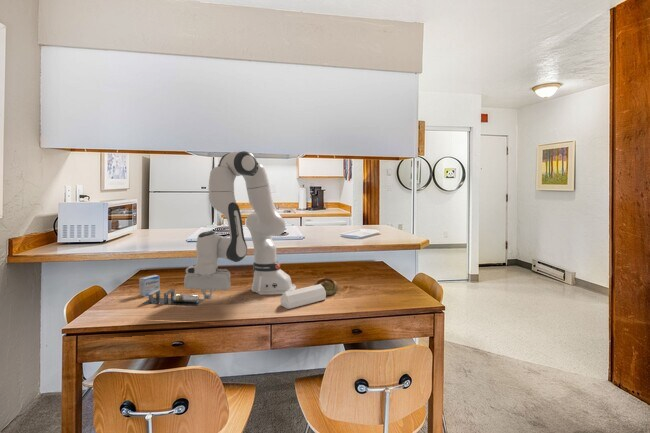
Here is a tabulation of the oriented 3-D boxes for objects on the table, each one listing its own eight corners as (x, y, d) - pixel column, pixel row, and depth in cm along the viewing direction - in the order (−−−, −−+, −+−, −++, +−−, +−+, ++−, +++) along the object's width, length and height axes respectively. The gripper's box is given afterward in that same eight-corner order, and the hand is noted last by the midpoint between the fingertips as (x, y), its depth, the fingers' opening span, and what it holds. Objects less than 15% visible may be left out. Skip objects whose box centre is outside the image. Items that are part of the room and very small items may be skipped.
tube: (199, 301, 162) (199, 293, 162) (196, 303, 159) (195, 296, 158) (175, 300, 163) (175, 293, 162) (172, 302, 159) (171, 295, 159)
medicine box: (145, 297, 168) (144, 279, 167) (139, 295, 170) (138, 277, 169) (160, 293, 174) (159, 275, 174) (154, 291, 177) (154, 274, 176)
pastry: (318, 297, 171) (319, 281, 170) (308, 290, 182) (308, 275, 181) (344, 293, 177) (344, 278, 176) (332, 287, 188) (333, 272, 187)
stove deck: (204, 300, 164) (204, 289, 164) (196, 306, 156) (196, 295, 155) (152, 298, 166) (152, 287, 166) (141, 304, 158) (141, 293, 157)
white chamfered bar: (288, 303, 151) (331, 292, 166) (280, 291, 155) (323, 282, 170) (283, 315, 154) (326, 304, 169) (275, 303, 159) (318, 293, 174)
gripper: (232, 267, 161) (232, 297, 162) (188, 265, 162) (189, 295, 164) (227, 270, 154) (228, 302, 156) (182, 269, 156) (182, 300, 157)
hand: (207, 298), depth 160 cm, fingers closed
